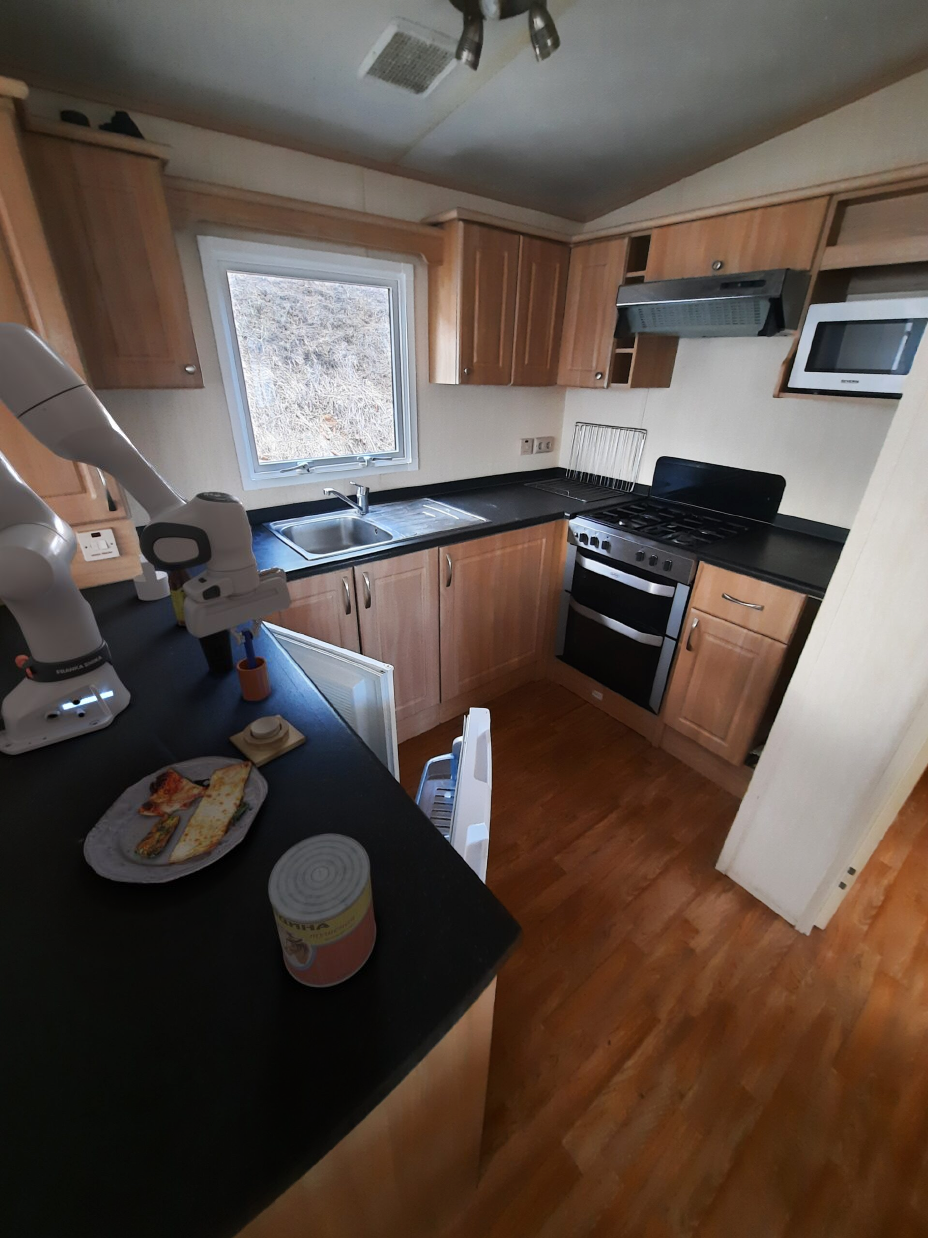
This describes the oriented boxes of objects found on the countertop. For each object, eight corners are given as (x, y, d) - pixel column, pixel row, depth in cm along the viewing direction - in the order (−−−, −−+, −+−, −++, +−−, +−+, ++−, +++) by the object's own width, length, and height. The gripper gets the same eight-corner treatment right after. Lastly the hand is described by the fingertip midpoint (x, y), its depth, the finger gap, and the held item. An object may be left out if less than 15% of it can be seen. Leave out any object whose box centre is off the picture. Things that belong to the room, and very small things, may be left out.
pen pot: (251, 706, 106) (244, 674, 103) (238, 695, 110) (231, 663, 106) (276, 694, 110) (271, 663, 106) (263, 684, 113) (257, 653, 110)
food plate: (158, 762, 91) (153, 746, 89) (287, 766, 90) (284, 751, 89) (53, 890, 68) (44, 873, 67) (223, 897, 68) (218, 880, 66)
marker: (254, 682, 107) (243, 632, 102) (250, 679, 108) (239, 629, 103) (261, 679, 108) (250, 629, 103) (257, 676, 109) (247, 627, 104)
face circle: (260, 743, 92) (258, 737, 91) (247, 731, 95) (245, 724, 94) (285, 731, 95) (284, 724, 94) (272, 719, 98) (270, 713, 97)
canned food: (263, 953, 62) (246, 888, 56) (330, 881, 70) (321, 819, 65) (330, 1008, 56) (318, 943, 51) (394, 924, 65) (389, 860, 60)
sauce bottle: (192, 628, 137) (175, 558, 128) (172, 626, 138) (153, 556, 129) (208, 618, 143) (192, 550, 134) (188, 615, 144) (172, 548, 135)
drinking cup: (198, 670, 118) (178, 592, 109) (231, 658, 123) (214, 582, 114) (212, 683, 113) (193, 602, 104) (245, 670, 118) (229, 592, 109)
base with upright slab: (173, 596, 155) (164, 559, 150) (139, 602, 151) (128, 564, 146) (169, 586, 162) (160, 550, 157) (137, 592, 158) (126, 555, 152)
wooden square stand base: (256, 768, 90) (253, 755, 88) (230, 742, 96) (227, 729, 94) (306, 741, 96) (304, 729, 95) (279, 719, 102) (277, 706, 101)
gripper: (276, 560, 106) (285, 619, 113) (173, 587, 93) (190, 652, 99) (291, 568, 103) (300, 628, 109) (186, 597, 89) (203, 664, 95)
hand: (247, 640), depth 104 cm, fingers closed on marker, 1 cm apart
